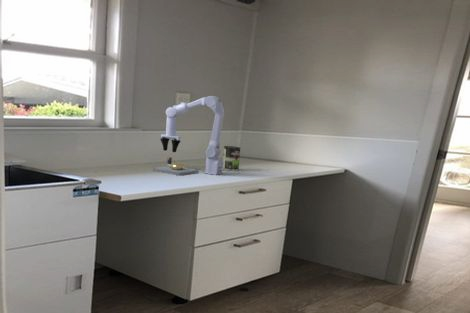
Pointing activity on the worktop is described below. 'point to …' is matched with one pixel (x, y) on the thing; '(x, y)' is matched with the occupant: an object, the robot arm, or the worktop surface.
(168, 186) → the worktop surface
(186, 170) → the grey board
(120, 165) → the worktop surface
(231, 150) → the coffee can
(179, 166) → the spiked mace toy
